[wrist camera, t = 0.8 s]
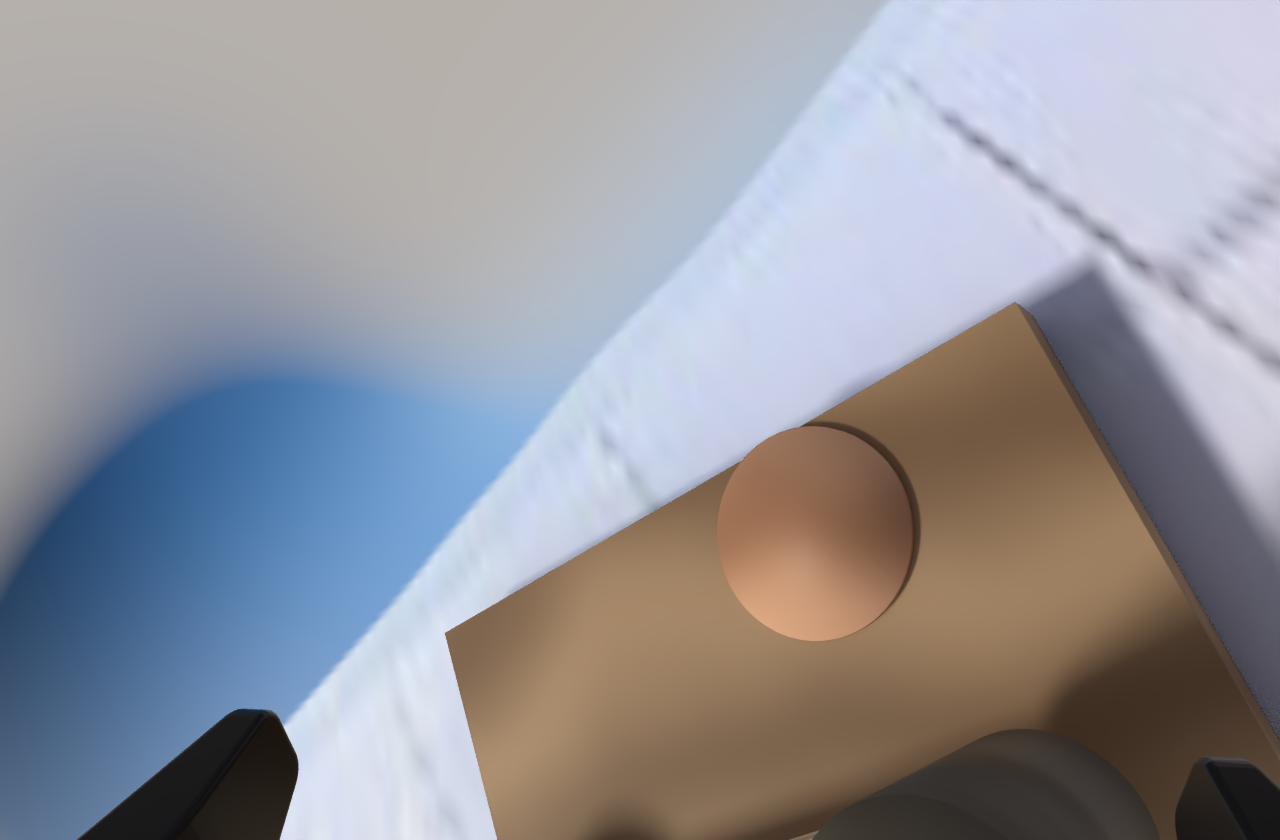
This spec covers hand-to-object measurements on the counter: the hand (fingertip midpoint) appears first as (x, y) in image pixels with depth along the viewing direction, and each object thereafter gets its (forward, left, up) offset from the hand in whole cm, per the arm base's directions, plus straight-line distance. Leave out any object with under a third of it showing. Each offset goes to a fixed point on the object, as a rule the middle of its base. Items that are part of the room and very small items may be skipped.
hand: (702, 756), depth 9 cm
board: (-1, +7, -14) cm, 16 cm away
